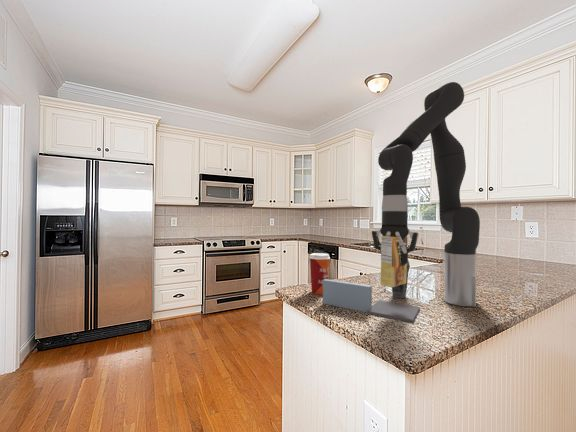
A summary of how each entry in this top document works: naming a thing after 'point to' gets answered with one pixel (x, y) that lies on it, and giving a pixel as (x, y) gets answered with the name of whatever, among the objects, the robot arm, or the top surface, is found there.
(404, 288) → the beverage cup
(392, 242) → the candy box
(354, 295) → the screen
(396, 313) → the mat
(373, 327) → the top surface
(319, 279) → the coffee cup
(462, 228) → the robot arm
